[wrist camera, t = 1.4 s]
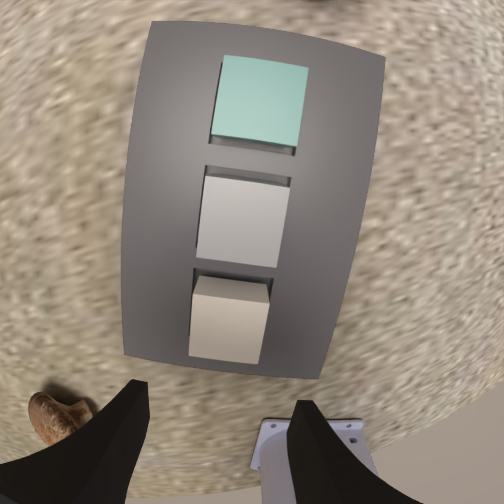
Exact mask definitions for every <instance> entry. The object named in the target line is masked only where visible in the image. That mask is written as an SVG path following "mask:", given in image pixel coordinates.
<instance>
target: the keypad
mask: <svg viewBox="0 0 504 504" xmlns="http://www.w3.org/2000/svg"><path fill="white" fill-rule="evenodd" d="M224 55H230V56H239V57H247V58H255V59H262V60H269V61H275V62H281V63H286V64H292V65H297V66H302V67H307V68H308V76H307V83H306V90H305V97H304V103H303V110H302V117H301V123H300V130H299V137H298V143H297V147H291V148H287V147H282V146H276V145H269V144H263V143H256V142H249V141H242V140H235V139H227V138H218V137H215V136H214V135H212V134H211V132H212V125H213V119H214V112H215V106H216V100H217V94H218V88H219V82H220V76H221V71H222V65H223V60H224ZM385 58H386V57H383V56H380V55H377V54H374V53H371V52H368V51H365V50H362V49H358V48H355V47H351V46H348V45H344V44H341V43H337V42H333V41H329V40H325V39H321V38H316V37H312V36H307V35H302V34H298V33H292V32H287V31H281V30H275V29H269V28H262V27H255V26H247V25H238V24H227V23H214V22H196V21H152V23H151V27H150V31H149V35H148V39H147V43H146V47H145V52H144V56H143V61H142V66H141V71H140V76H139V81H138V86H137V92H136V98H135V104H134V110H133V116H132V123H131V130H130V138H129V146H128V155H127V164H126V174H125V186H124V199H123V216H122V240H121V304H122V328H123V345H124V355H126V356H131V357H136V358H141V359H146V360H151V361H157V362H162V363H168V364H174V365H180V366H186V367H193V368H200V369H207V370H215V371H222V372H231V373H240V374H250V375H260V376H272V377H286V378H303V379H318V378H319V375H320V372H321V369H322V366H323V363H324V360H325V357H326V354H327V351H328V348H329V344H330V341H331V338H332V335H333V331H334V328H335V325H336V321H337V318H338V314H339V311H340V307H341V304H342V300H343V296H344V293H345V289H346V285H347V281H348V277H349V273H350V270H351V265H352V261H353V257H354V253H355V249H356V245H357V240H358V236H359V231H360V227H361V222H362V217H363V212H364V207H365V202H366V197H367V192H368V187H369V181H370V176H371V170H372V164H373V158H374V152H375V145H376V139H377V132H378V124H379V117H380V109H381V100H382V91H383V81H384V70H385ZM210 173H215V174H223V175H230V176H238V177H245V178H252V179H259V180H266V181H272V182H279V183H284V184H285V185H287V186H288V187H290V193H289V198H288V204H287V210H286V216H285V222H284V228H283V233H282V239H281V245H280V250H279V256H278V262H277V267H276V268H273V267H266V266H258V265H250V264H243V263H235V262H228V261H220V260H213V259H206V258H198V257H196V254H197V244H198V234H199V225H200V216H201V207H202V199H203V191H204V183H205V176H206V175H208V174H210ZM199 276H207V277H214V278H221V279H229V280H236V281H244V282H252V283H260V284H266V285H267V291H268V297H269V303H270V305H269V310H268V315H267V320H266V325H265V331H264V336H263V341H262V346H261V351H260V356H259V361H258V364H249V363H240V362H231V361H223V360H215V359H207V358H200V357H193V356H189V341H190V326H191V312H192V299H193V292H194V289H195V286H196V284H197V281H198V278H199Z"/></svg>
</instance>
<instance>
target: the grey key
mask: <svg viewBox="0 0 504 504" xmlns="http://www.w3.org/2000/svg"><path fill="white" fill-rule="evenodd" d="M289 193H290V187H288V186H287V185H285V184H284V183H279V182H272V181H266V180H259V179H252V178H245V177H238V176H230V175H223V174H215V173H210V174H208V175H206V176H205V183H204V191H203V199H202V207H201V216H200V225H199V234H198V244H197V254H196V257H198V258H206V259H213V260H220V261H228V262H235V263H243V264H250V265H258V266H266V267H273V268H276V267H277V262H278V256H279V250H280V245H281V239H282V233H283V228H284V222H285V216H286V210H287V204H288V198H289Z"/></svg>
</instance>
